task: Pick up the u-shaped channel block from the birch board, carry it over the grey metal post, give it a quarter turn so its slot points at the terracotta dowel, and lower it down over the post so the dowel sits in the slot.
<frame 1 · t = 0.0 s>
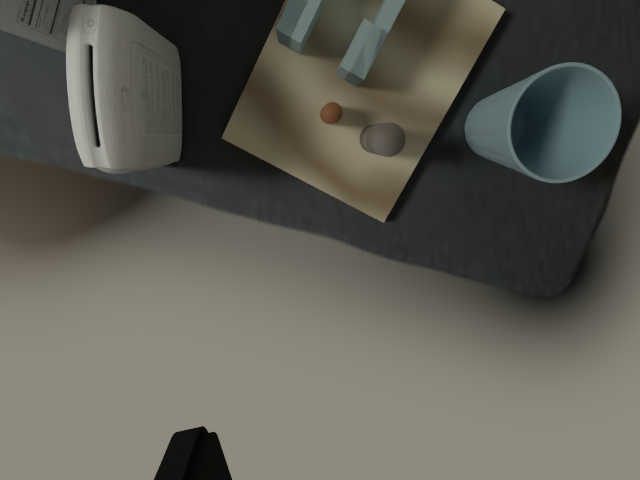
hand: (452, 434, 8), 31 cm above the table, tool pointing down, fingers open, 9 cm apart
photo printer: (160, 104, 36), on the table
cup: (493, 127, 38), on the table
board: (358, 76, 36), on the table
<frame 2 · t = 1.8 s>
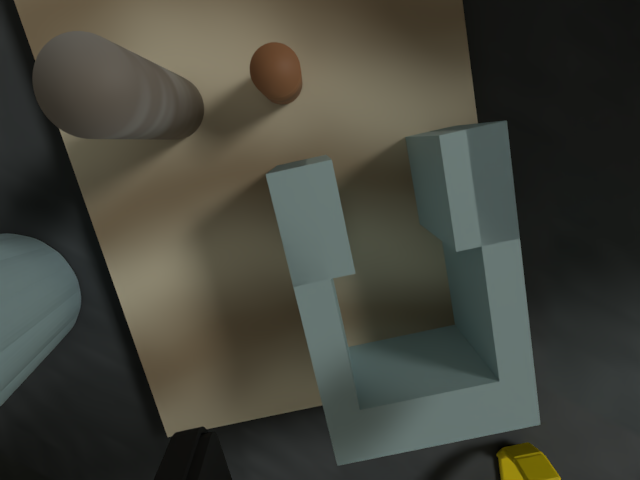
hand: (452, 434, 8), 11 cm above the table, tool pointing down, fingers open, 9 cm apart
cup: (23, 290, 19), on the table
watch: (510, 469, 22), on the table
board: (287, 186, 18), on the table
u-shaped channel block: (392, 285, 18), point 1 cm above the table, touching board
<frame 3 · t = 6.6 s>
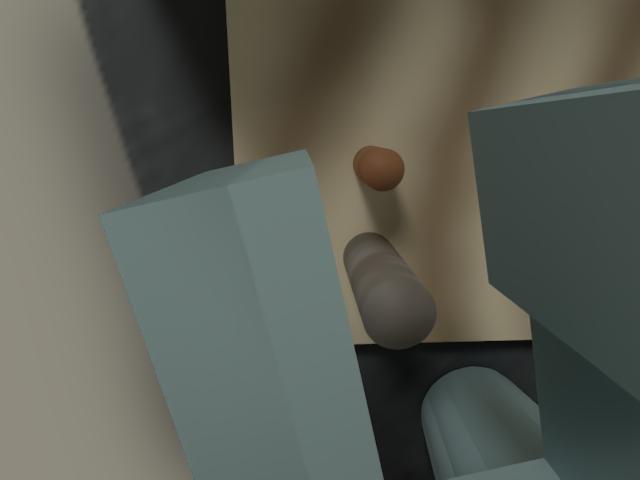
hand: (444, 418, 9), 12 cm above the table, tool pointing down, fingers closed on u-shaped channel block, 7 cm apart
cup: (467, 406, 24), on the table
board: (449, 178, 20), on the table
u-shaped channel block: (432, 395, 10), point 12 cm above the table, touching gripper
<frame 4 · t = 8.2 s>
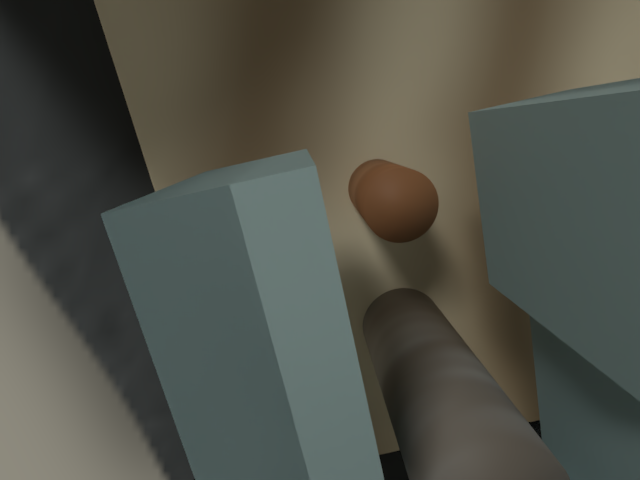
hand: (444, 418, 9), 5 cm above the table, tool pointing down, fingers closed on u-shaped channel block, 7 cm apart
board: (499, 180, 13), on the table
u-shaped channel block: (432, 394, 10), point 5 cm above the table, touching gripper
when the fingers open (3 cm above the table, at t = 9.7 s): u-shaped channel block drops 1 cm, resting on board.
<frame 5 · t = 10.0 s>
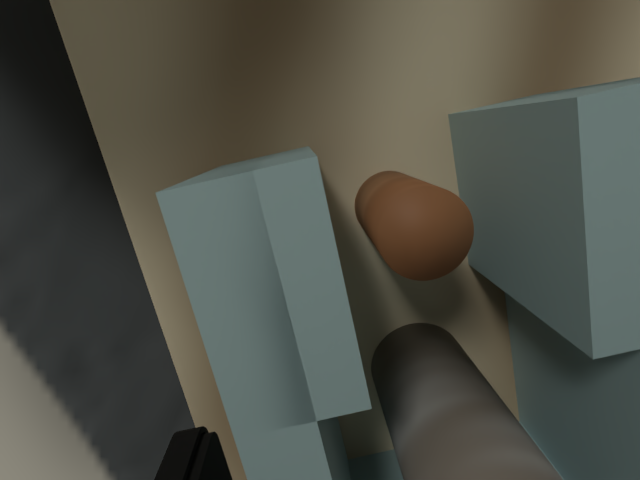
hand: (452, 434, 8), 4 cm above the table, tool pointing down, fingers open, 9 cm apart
board: (531, 193, 11), on the table
u-shaped channel block: (419, 363, 11), point 1 cm above the table, touching board
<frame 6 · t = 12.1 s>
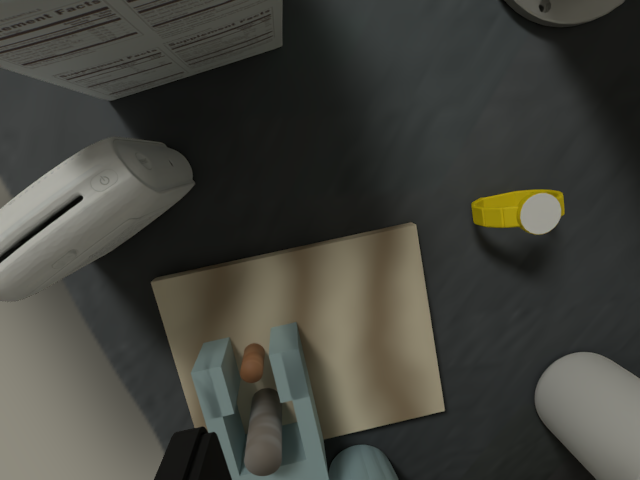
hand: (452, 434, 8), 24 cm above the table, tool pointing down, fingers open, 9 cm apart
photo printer: (133, 199, 31), on the table
cup: (359, 469, 37), on the table
watch: (496, 203, 33), on the table
board: (306, 343, 34), on the table
pill bottle: (572, 389, 37), on the table
u-shaped channel block: (267, 401, 33), point 1 cm above the table, touching board
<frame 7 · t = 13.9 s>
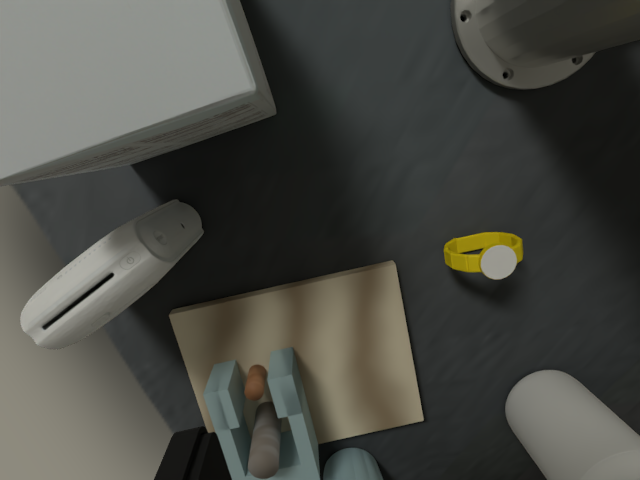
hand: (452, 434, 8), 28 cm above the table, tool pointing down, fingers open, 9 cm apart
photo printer: (152, 245, 36), on the table
cup: (350, 468, 43), on the table
watch: (468, 242, 37), on the table
board: (302, 363, 39), on the table
pill bottle: (540, 401, 42), on the table
u-shaped channel block: (269, 412, 39), point 1 cm above the table, touching board
supplement box: (171, 57, 33), on the table
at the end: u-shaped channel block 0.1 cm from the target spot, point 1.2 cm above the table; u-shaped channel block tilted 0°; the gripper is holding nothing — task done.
